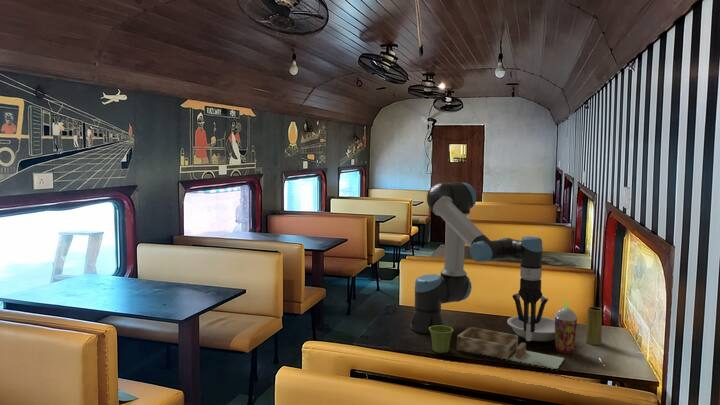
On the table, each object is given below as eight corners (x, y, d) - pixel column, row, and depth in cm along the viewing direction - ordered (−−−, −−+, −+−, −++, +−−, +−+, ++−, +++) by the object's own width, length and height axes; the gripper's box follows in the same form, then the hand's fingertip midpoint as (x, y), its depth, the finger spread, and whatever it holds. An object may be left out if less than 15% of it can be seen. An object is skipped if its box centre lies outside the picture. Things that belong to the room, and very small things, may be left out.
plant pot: (434, 344, 210) (434, 323, 210) (456, 349, 205) (456, 327, 205) (424, 351, 202) (425, 330, 201) (447, 356, 197) (448, 334, 197)
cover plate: (509, 361, 194) (509, 349, 194) (518, 351, 204) (518, 340, 204) (557, 371, 185) (557, 358, 184) (564, 361, 195) (564, 348, 195)
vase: (600, 341, 216) (602, 307, 214) (602, 346, 210) (603, 311, 209) (584, 339, 218) (586, 306, 216) (586, 344, 212) (587, 309, 211)
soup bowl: (572, 351, 204) (573, 334, 204) (509, 346, 209) (509, 330, 208) (561, 331, 228) (561, 317, 227) (504, 328, 232) (505, 313, 232)
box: (456, 349, 204) (456, 335, 204) (469, 339, 216) (469, 326, 216) (507, 360, 194) (507, 345, 193) (517, 349, 205) (518, 335, 205)
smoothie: (549, 347, 207) (551, 298, 206) (569, 347, 208) (571, 298, 207) (559, 355, 199) (561, 304, 198) (580, 354, 200) (582, 303, 198)
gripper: (510, 278, 194) (508, 339, 196) (546, 282, 187) (544, 346, 189) (516, 274, 201) (514, 334, 203) (551, 278, 194) (549, 340, 196)
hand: (528, 339), depth 196 cm, fingers closed
